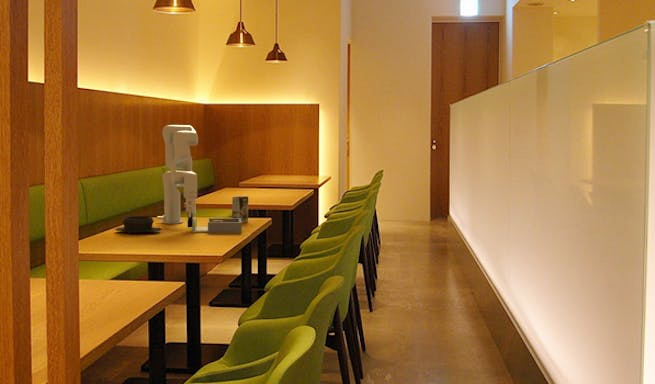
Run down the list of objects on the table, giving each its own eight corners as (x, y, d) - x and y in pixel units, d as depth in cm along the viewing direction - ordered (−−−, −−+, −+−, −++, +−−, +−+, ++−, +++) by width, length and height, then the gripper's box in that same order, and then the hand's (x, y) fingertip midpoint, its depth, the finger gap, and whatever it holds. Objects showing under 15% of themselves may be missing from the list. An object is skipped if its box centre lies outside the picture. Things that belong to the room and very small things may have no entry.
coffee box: (240, 223, 448) (240, 197, 447) (231, 223, 451) (231, 196, 449) (248, 222, 456) (248, 196, 455) (239, 221, 459) (239, 195, 458)
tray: (192, 232, 405) (192, 221, 404) (194, 227, 425) (194, 217, 424) (227, 232, 407) (228, 221, 407) (228, 227, 427) (228, 217, 426)
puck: (212, 229, 413) (212, 221, 412) (212, 227, 419) (212, 220, 418) (222, 229, 414) (222, 221, 413) (222, 227, 420) (222, 220, 419)
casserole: (165, 231, 413) (165, 216, 412) (155, 235, 395) (154, 220, 394) (122, 229, 415) (122, 215, 415) (109, 234, 397) (109, 219, 396)
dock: (207, 233, 406) (207, 222, 405) (209, 228, 425) (209, 218, 425) (241, 233, 408) (241, 222, 408) (241, 228, 428) (241, 218, 427)
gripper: (196, 196, 406) (196, 229, 407) (198, 193, 421) (198, 225, 422) (182, 196, 405) (182, 229, 406) (184, 193, 420) (184, 225, 421)
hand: (190, 227), depth 414 cm, fingers closed
